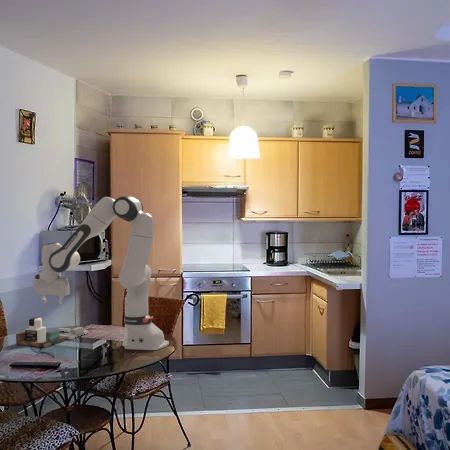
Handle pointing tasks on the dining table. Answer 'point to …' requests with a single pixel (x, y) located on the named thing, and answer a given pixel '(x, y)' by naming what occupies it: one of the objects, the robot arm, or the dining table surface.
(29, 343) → the sled
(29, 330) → the medicine bottle
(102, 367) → the dining table surface
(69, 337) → the broken sled
